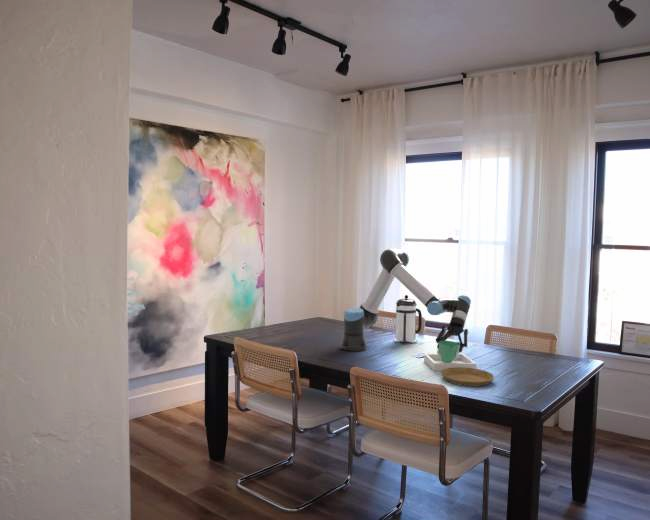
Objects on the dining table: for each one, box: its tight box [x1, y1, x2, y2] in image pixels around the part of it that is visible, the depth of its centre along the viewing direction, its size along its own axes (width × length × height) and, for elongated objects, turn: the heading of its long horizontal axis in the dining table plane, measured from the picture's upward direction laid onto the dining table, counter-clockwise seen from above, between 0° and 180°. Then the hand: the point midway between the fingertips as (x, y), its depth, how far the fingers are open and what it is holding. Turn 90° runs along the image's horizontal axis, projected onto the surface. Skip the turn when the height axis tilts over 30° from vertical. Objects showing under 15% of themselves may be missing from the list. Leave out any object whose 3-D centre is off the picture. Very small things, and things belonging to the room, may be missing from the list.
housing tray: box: [423, 353, 477, 372], centre depth 275 cm, size 21×21×4 cm
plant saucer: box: [440, 367, 495, 387], centre depth 249 cm, size 24×24×3 cm
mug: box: [439, 340, 460, 363], centre depth 274 cm, size 15×10×10 cm
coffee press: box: [393, 294, 423, 345], centre depth 333 cm, size 17×16×30 cm
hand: (447, 355), depth 272 cm, fingers closed on mug, 9 cm apart
